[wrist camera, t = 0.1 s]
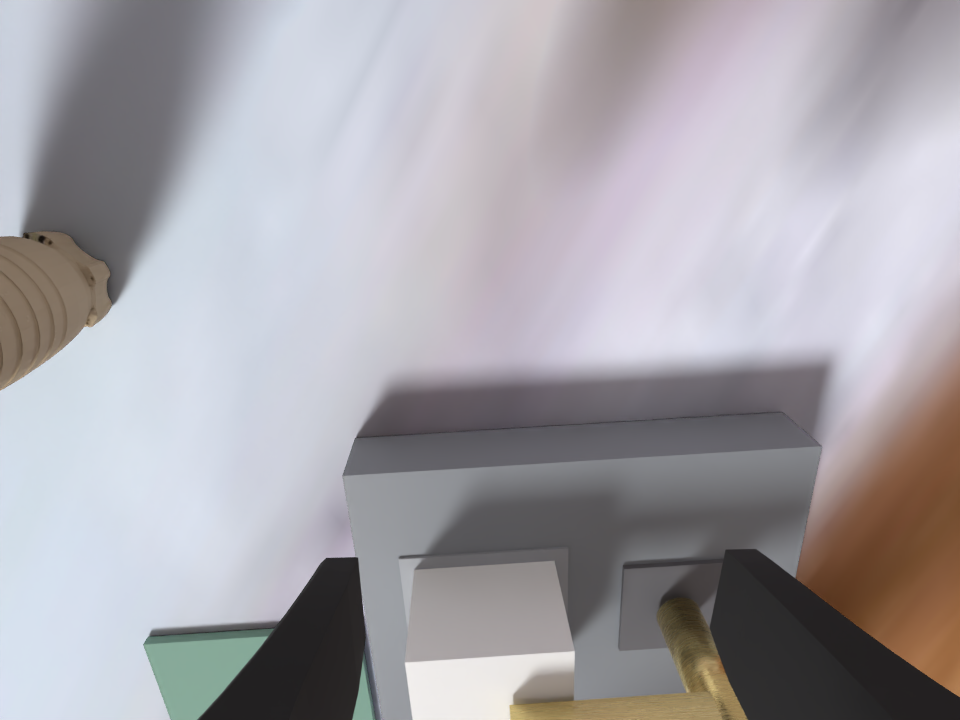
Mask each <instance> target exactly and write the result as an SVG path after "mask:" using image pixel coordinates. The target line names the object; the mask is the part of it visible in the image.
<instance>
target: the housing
mask: <svg viewBox="0 0 960 720" xmlns="http://www.w3.org/2000/svg"><path fill="white" fill-rule="evenodd" d="M821 449H822V446H821V445H820V444H819V443H818V442H817V441H815V440H814V439H813V438H812V437H811V436H810V435H808V434H807V433H806V432H805V431H804V430H803V429H801V428H800V427H799V426H798V425H797V424H796V423H795V422H793V421H792V420H791V419H790V418H789V417H788V416H786V415H785V414H784V413H783V412H775V413H759V414H742V415H726V416H709V417H693V418H677V419H660V420H644V421H627V422H611V423H595V424H578V425H562V426H545V427H529V428H512V429H496V430H480V431H463V432H447V433H430V434H414V435H398V436H381V437H365V438H355V440H354V443H353V446H352V449H351V452H350V455H349V458H348V461H347V464H346V467H345V470H344V473H343V482H344V489H345V495H346V501H347V507H348V513H349V519H350V525H351V531H352V537H353V544H354V550H355V556H356V557H358V561H359V572H360V583H361V592H362V599H363V605H364V611H365V617H366V623H367V629H368V635H369V641H370V647H371V653H372V660H373V666H374V672H375V678H376V684H377V690H378V696H379V702H380V708H381V715H382V720H413V719H412V712H411V704H410V697H409V690H408V682H407V675H406V667H405V656H406V646H407V636H408V626H409V616H410V606H411V596H412V585H413V575H414V570H419V569H435V568H450V567H466V566H481V565H496V564H512V563H527V562H543V561H555V566H556V570H557V575H558V579H559V584H560V588H561V592H562V597H563V601H564V606H565V610H566V615H567V619H568V623H569V628H570V632H571V637H572V641H573V645H574V650H575V667H574V700H589V699H603V698H618V697H632V696H647V695H661V694H676V693H686V691H685V688H684V686H683V684H682V681H681V679H680V676H679V674H678V671H677V669H676V666H675V664H674V661H673V659H672V657H671V654H670V652H669V649H668V647H667V644H666V642H665V639H664V637H663V635H662V632H661V630H660V627H659V625H658V622H657V619H656V615H657V611H658V610H659V608H660V607H661V606H662V605H663V604H664V603H665V602H667V601H669V600H671V599H675V598H688V599H691V600H693V601H694V602H696V603H697V605H698V606H699V608H700V610H701V612H702V614H703V616H704V618H705V620H706V622H707V624H708V626H709V628H710V623H711V618H712V613H713V608H714V603H715V598H716V594H717V589H718V584H719V579H720V574H721V569H722V564H723V559H724V555H725V550H726V549H757V550H758V551H760V552H761V553H762V554H764V555H765V556H767V557H768V558H769V559H771V560H772V561H773V562H775V563H776V564H777V565H779V566H780V567H781V568H782V569H784V570H785V571H786V572H788V573H789V574H790V575H791V576H793V577H794V578H795V577H796V572H797V567H798V562H799V557H800V552H801V547H802V543H803V538H804V533H805V528H806V523H807V518H808V513H809V508H810V503H811V498H812V493H813V489H814V484H815V479H816V474H817V469H818V464H819V459H820V454H821Z"/></svg>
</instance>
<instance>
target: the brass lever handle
mask: <svg viewBox="0 0 960 720" xmlns="http://www.w3.org/2000/svg"><path fill="white" fill-rule="evenodd" d="M656 619H657V622H658V625H659V627H660V630H661V632H662V635H663V637H664V639H665V642H666V644H667V647H668V649H669V652H670V654H671V657H672V659H673V661H674V664H675V666H676V669H677V671H678V674H679V676H680V679H681V681H682V684H683V686H684V688H685V691H686V693H676V694H661V695H647V696H632V697H618V698H603V699H589V700H574V701H560V702H545V703H531V704H516V705H509V708H510V720H748V719H747V717H746V715H745V713H744V711H743V709H742V707H741V705H740V703H739V701H738V699H737V697H736V695H735V693H734V691H733V689H732V687H731V685H730V683H729V680H728V678H727V675H726V673H725V670H724V667H723V665H722V662H721V660H720V657H719V654H718V651H717V648H716V645H715V643H714V640H713V637H712V634H711V631H710V628H709V626H708V624H707V622H706V620H705V618H704V616H703V614H702V612H701V610H700V608H699V606H698V605H697V603H696V602H694V601H693V600H691V599H688V598H675V599H671V600H669V601H667V602H665V603H664V604H663V605H662V606H661V607H660V608H659V610H658V611H657V615H656Z"/></svg>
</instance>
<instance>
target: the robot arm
mask: <svg viewBox="0 0 960 720" xmlns="http://www.w3.org/2000/svg"><path fill="white" fill-rule="evenodd" d="M710 631H711V634H712V637H713V640H714V643H715V645H716V648H717V651H718V654H719V657H720V660H721V662H722V665H723V667H724V670H725V673H726V675H727V678H728V680H729V683H730V685H731V687H732V689H733V691H734V693H735V695H736V697H737V699H738V701H739V703H740V705H741V707H742V709H743V711H744V713H745V715H746V717H747V719H748V720H960V697H958V696H957V695H955V694H954V693H952V692H951V691H949V690H948V689H946V688H945V687H943V686H941V685H940V684H938V683H937V682H935V681H934V680H932V679H931V678H929V677H928V676H927V675H925V674H924V673H922V672H921V671H919V670H918V669H916V668H915V667H914V666H912V665H911V664H909V663H908V662H906V661H905V660H904V659H902V658H901V657H899V656H898V655H896V654H895V653H893V652H892V651H891V650H889V649H888V648H886V647H885V646H884V645H882V644H881V643H880V642H878V641H877V640H875V639H874V638H873V637H871V636H870V635H869V634H867V633H866V632H865V631H863V630H862V629H860V628H859V627H858V626H856V625H855V624H854V623H852V622H851V621H850V620H848V619H847V618H846V617H845V616H843V615H842V614H841V613H839V612H838V611H837V610H835V609H834V608H833V607H831V606H830V605H829V604H828V603H826V602H825V601H824V600H822V599H821V598H820V597H818V596H817V595H816V594H815V593H813V592H812V591H811V590H809V589H808V588H807V587H806V586H804V585H803V584H802V583H800V582H799V581H798V580H797V579H795V578H794V577H793V576H791V575H790V574H789V573H788V572H786V571H785V570H784V569H782V568H781V567H780V566H779V565H777V564H776V563H775V562H773V561H772V560H771V559H769V558H768V557H767V556H765V555H764V554H762V553H761V552H760V551H758V550H757V549H726V550H725V555H724V559H723V564H722V569H721V574H720V579H719V584H718V589H717V594H716V598H715V603H714V608H713V613H712V618H711V623H710ZM365 638H366V637H365V626H364V615H363V604H362V593H361V583H360V572H359V561H358V557H349V558H326V559H325V560H324V561H323V562H322V563H321V564H320V565H319V567H318V568H317V570H316V571H315V573H314V574H313V576H312V577H311V579H310V580H309V582H308V583H307V585H306V586H305V588H304V589H303V590H302V592H301V593H300V595H299V596H298V598H297V599H296V600H295V602H294V603H293V604H292V606H291V607H290V609H289V610H288V611H287V613H286V614H285V615H284V617H283V618H282V619H281V621H280V622H279V623H278V625H277V626H276V627H275V628H274V630H273V631H272V632H271V634H270V635H269V636H268V638H267V639H266V640H265V641H264V643H263V644H262V645H261V647H260V648H259V649H258V650H257V652H256V653H255V654H254V655H253V657H252V658H251V659H250V660H249V661H248V663H247V664H246V665H245V666H244V667H243V668H242V670H241V671H240V672H239V673H238V674H237V675H236V677H235V678H234V679H233V680H232V681H231V683H230V684H229V685H228V686H227V687H226V688H225V690H224V691H223V692H222V693H221V694H220V695H219V697H218V698H217V699H216V700H215V701H214V702H213V703H212V704H211V705H210V706H209V708H208V709H207V710H206V711H205V712H204V713H203V714H202V715H201V716H200V717H199V718H198V719H197V720H352V719H353V714H354V710H355V706H356V701H357V697H358V692H359V685H360V677H361V670H362V662H363V654H364V646H365Z"/></svg>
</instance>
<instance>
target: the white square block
mask: <svg viewBox="0 0 960 720" xmlns="http://www.w3.org/2000/svg"><path fill="white" fill-rule="evenodd" d="M405 667H406V675H407V682H408V690H409V697H410V704H411V712H412V719H413V720H510V708H509V705H516V704H531V703H545V702H560V701H574V667H575V650H574V645H573V641H572V637H571V632H570V628H569V623H568V619H567V615H566V610H565V606H564V601H563V597H562V592H561V588H560V584H559V579H558V575H557V570H556V566H555V561H543V562H527V563H512V564H496V565H481V566H466V567H450V568H435V569H419V570H414V575H413V585H412V596H411V606H410V616H409V626H408V636H407V646H406V656H405Z"/></svg>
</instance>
